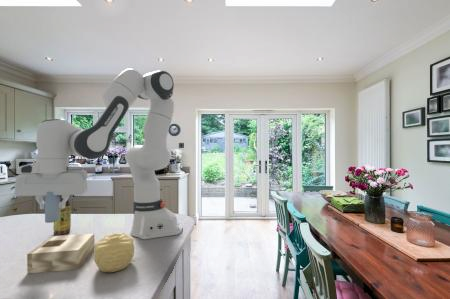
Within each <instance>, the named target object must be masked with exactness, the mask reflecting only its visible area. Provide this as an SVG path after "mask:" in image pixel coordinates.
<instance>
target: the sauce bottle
mask: <svg viewBox="0 0 450 299" xmlns="http://www.w3.org/2000/svg"><path fill="white" fill-rule="evenodd" d="M63 199H64V198H62V195H60V202H62V201H63ZM71 217H72V206H71V203H70V200H69V198H68V200H67V201H66V202H65V208H62V209H60V220H59V221H57V222H53V235H54V236H62V235H66V234H68V233H70V232H71V227H72V220H71V219H72V218H71Z"/></svg>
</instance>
